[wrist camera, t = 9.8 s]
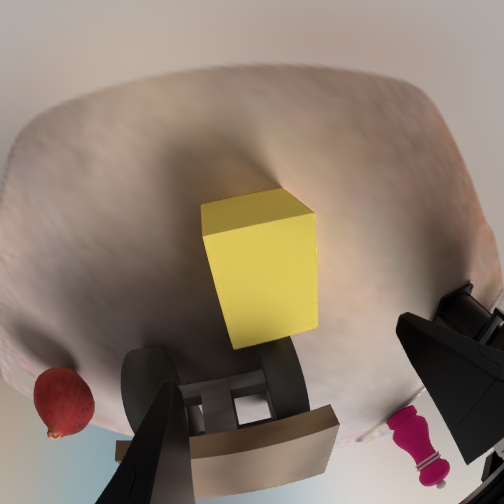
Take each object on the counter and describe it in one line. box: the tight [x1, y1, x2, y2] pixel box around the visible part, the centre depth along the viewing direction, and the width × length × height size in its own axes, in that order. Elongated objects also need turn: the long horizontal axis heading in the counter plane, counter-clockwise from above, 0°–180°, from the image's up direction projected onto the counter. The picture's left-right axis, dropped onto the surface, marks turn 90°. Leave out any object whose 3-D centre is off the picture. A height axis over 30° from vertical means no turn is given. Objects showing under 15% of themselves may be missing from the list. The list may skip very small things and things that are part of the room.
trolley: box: [115, 336, 340, 498], centre depth 18 cm, size 13×16×10 cm
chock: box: [201, 188, 318, 350], centre depth 15 cm, size 5×7×5 cm
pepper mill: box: [387, 405, 450, 489], centre depth 31 cm, size 7×7×20 cm
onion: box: [34, 367, 95, 440], centre depth 16 cm, size 6×6×8 cm
